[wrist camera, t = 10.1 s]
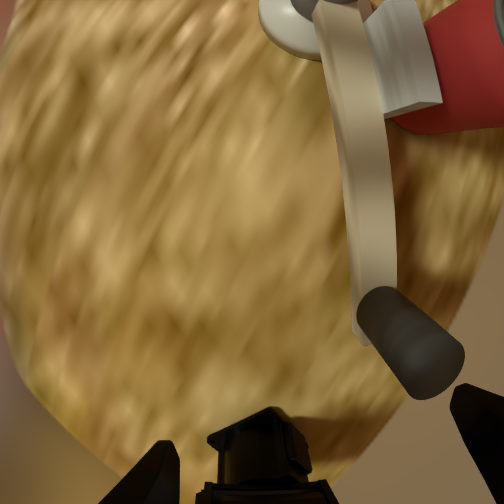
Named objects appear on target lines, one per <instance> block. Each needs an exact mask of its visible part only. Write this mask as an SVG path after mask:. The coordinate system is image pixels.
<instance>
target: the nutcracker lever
mask: <svg viewBox="0 0 504 504" xmlns="http://www.w3.org/2000/svg"><path fill="white" fill-rule="evenodd" d="M290 1H291V4H292V6H293V7H294V9H295V10H296V11H297V12H298V13H299V14H300V15H301V16H303V17H304V18H306V19H308V20H310V21H313V24H314V28H315V32H316V36H317V41H318V45H319V49H320V54H321V59H322V63H323V68H324V73H325V78H326V83H327V88H328V94H329V99H330V105H331V110H332V116H333V122H334V129H335V135H336V142H337V149H338V156H339V163H340V171H341V179H342V187H343V196H344V206H345V216H346V226H347V238H348V251H349V266H350V284H351V308H352V331H353V332H354V334H355V335H356V337H357V338H358V339H359V341H360V342H361V344H362V345H363V346H367V345H371V344H373V346H374V347H375V348H376V350H377V351H378V352H379V354H380V355H381V356H382V358H383V359H384V361H385V362H386V363H387V365H388V366H389V367H390V369H391V370H392V372H393V373H394V374H395V376H396V377H397V378H398V380H399V381H400V383H401V384H402V385H403V387H404V388H405V390H406V391H407V393H408V394H409V395H410V396H411V397H412V398H414V399H417V400H426V399H430V398H433V397H435V396H437V395H438V394H440V393H442V392H443V391H444V390H446V389H447V388H448V387H449V386H450V385H451V384H452V383H453V382H454V381H455V379H456V378H457V376H458V375H459V373H460V371H461V369H462V367H463V363H464V359H465V352H464V348H463V346H462V345H461V343H459V342H458V341H457V340H456V339H455V338H454V337H453V336H451V335H450V334H449V333H448V332H447V331H446V330H444V329H443V328H442V327H441V326H440V325H439V324H437V323H436V322H435V321H434V320H433V319H431V318H430V317H429V316H428V315H427V314H425V313H424V312H423V311H422V310H421V309H419V308H418V307H417V306H416V305H415V304H413V303H412V302H411V301H410V300H408V299H407V298H406V297H405V296H403V295H402V294H401V293H400V292H399V291H397V251H396V226H395V210H394V197H393V185H392V175H391V166H390V158H389V150H388V142H387V135H386V129H385V122H384V120H385V119H388V118H391V117H394V116H398V115H401V114H405V113H408V112H411V111H415V110H419V109H422V108H426V107H429V106H433V105H437V104H441V103H443V102H442V96H441V91H440V87H439V82H438V77H437V73H436V69H435V65H434V61H433V57H432V53H431V49H430V46H429V42H428V39H427V35H426V32H425V29H424V25H423V22H422V19H421V16H420V13H419V10H418V7H417V5H416V2H415V0H385V1H384V2H383V3H382V4H381V5H380V6H379V7H378V8H377V9H376V10H375V11H374V13H373V14H372V15H371V16H370V17H369V18H368V19H367V20H366V21H365V22H364V23H363V22H362V19H361V15H360V12H359V9H358V5H357V1H358V0H290Z"/></svg>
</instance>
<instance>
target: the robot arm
mask: <svg viewBox="0 0 504 504" xmlns="http://www.w3.org/2000/svg"><path fill="white" fill-rule="evenodd" d="M450 411H451V414H452V416H453V418H454V420H455V422H456V425H457V427H458V429H459V432H460V434H461V436H462V439H463V441H464V443H465V445H466V447H467V449H468V451H469V453H470V454H471V456H472V458H473V460H474V462H475V463H476V465H477V467H478V469H479V471H480V473H481V474H482V476H483V478H484V480H485V482H486V484H487V486H488V488H489V490H490V492H491V494H492V496H493V497H494V500H495V501H496V504H504V397H502V396H500V395H497V394H494V393H492V392H489V391H486V390H483V389H481V388H478V387H475V386H473V385H470V384H468V383H464V384H461V385H459V386H456V387H455V389H454V392H453V395H452V399H451V402H450ZM268 413H271V414H269V415H267V414H268ZM207 443H208V444H209V445H210V446H212V447H213V448H214V449H215V450H217V451H218V475H217V483H213V482H205V486H204V490H202V489H201V492H199V493H197V494H196V501H195V504H339V503H338V501H337V499H336V497H335V496H334V493H333V492H332V490H331V488H330V486H329V484H328V482H327V480H326V479H324V480H318V481H314V482H309V480H308V476H307V475H308V474H310V473H311V472H312V466H311V461H310V457H309V453H308V444H307V443H306V441H305V437H304V436H303V435H302V434H301V433H300V432H299V431H298V430H297V429H296V428H295V427H294V426H293V425H292V424H291V423H289V422H285V421H284V420H283V419H282V418H281V416H280V415H279V414H278V413H277V412H276V411H275V410H274V409H272V408H266V409H264V410H262V411H260V412H258V413H256V414H254V415H252V416H250V417H248V418H246V419H244V420H241V421H239V422H237V423H235V424H233V425H231V426H229V427H227V428H224V429H222V430H220V431H218V432H215V433H213V434H211V435H209V436H208V437H207ZM179 499H180V459H179V456H178V453H177V451H176V449H175V446H174V444H173V442H172V441H170V440H159V441H157V442H156V443H155V444H154V445H153V446H152V447H151V449H150V450H149V451H148V452H147V453H146V454H145V455H144V456H143V457H142V458H141V459H140V460H139V462H138V463H137V464H136V465H135V466H134V467H133V468H132V469H131V470H130V471H129V472H128V473H127V474H126V475H125V476H124V477H123V479H122V480H121V481H120V482H119V483H118V484H117V485H116V486H115V487H114V488H113V489H112V490H111V491H110V492H109V493H108V494H107V495H106V496H105V497H104V498H103V499H102V500H101V501H100V502H99V503H98V504H179Z"/></svg>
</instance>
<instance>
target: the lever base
mask: <svg viewBox="0 0 504 504" xmlns="http://www.w3.org/2000/svg"><path fill="white" fill-rule="evenodd" d="M357 5H358V9H359V12H360V15H361V19H362V22H363V23H364V22H365V21H366V20H367V19H368V18H369V17H370V16H371V15H372V14H373V13H372V8H371V4H370V2H369V0H358V1H357ZM258 16H259V21H260V24H261V26H262V28H263V30H264V32H265V33H266V35H267V36H268V37H269V38H270V39H271V40H272V42H274V43H275V44H276V45H277V46H278V47H280V48H281V49H283V50H284V51H286V52H288V53H290V54H292V55H295V56H297V57H301V58H304V59H309V60H317V61H322V59H321V54H320V49H319V45H318V41H317V36H316V32H315V28H314V24H313V21H310V20H308V19H306V18H304V17H303V16H301V15H300V14H299V13H298V12H297V11H296V10H295V9H294V7H293V6H292V4H291V1H290V0H260V1H259V7H258Z"/></svg>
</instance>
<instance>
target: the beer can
mask: <svg viewBox="0 0 504 504" xmlns="http://www.w3.org/2000/svg"><path fill="white" fill-rule="evenodd" d="M423 25H424V29H425V32H426V35H427V39H428V42H429V46H430V49H431V53H432V57H433V61H434V65H435V69H436V73H437V77H438V82H439V87H440V91H441V96H442V102H443V103H441V104H437V105H433V106H429V107H426V108H422V109H419V110H415V111H411V112H408V113H405V114H401V115H398V116H394V117H391V118H392V119H393V120H394V121H396V122H397V123H398V124H399V125H400V126H401V127H403V128H404V129H407V130H409V131H411V132H413V133H416V134H425V135H430V134H438V133H446V132H455V131H463V130H473V129H484V128H495V127H504V0H458V1H456V2H454V3H453V4H451V5H450V6H448V7H447V8H445V9H444V10H442V11H441V12H439V13H438V14H436V15H435V16H433V17H432V18H430V19H429V20H427V21H426V22H424V23H423Z"/></svg>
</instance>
